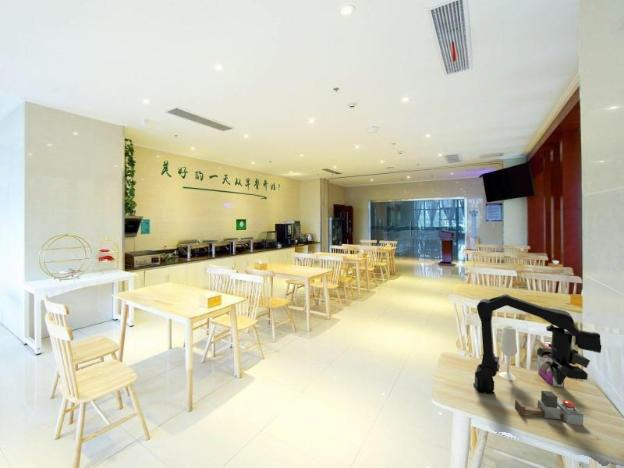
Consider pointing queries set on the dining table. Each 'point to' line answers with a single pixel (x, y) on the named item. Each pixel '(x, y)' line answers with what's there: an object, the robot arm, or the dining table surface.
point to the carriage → (549, 405)
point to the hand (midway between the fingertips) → (558, 384)
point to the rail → (530, 410)
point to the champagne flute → (508, 348)
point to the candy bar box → (546, 366)
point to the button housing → (571, 415)
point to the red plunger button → (568, 404)
